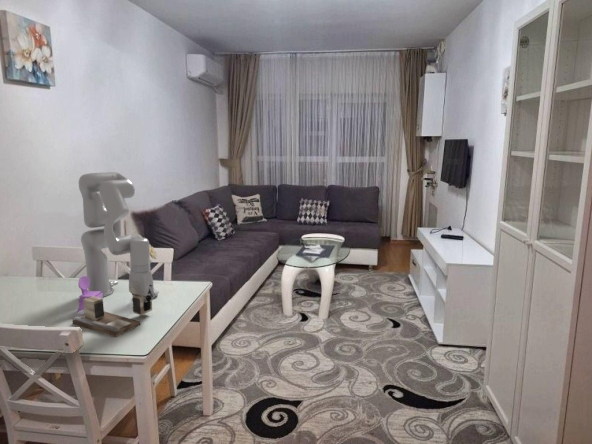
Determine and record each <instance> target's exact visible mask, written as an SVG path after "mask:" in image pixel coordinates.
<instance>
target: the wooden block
mask: <svg viewBox="0 0 592 444" xmlns="http://www.w3.org/2000/svg"><path fill="white" fill-rule="evenodd" d="M146 297H147V298H148V296H146ZM144 302H145V301H144V297H143V296H139V295H136V294H134V295H132V312H133V313H134V314H136V315H139V316H142V315H145V314H148V313H149V312H152V311H153V299H152V300H151V301H150V303H151V309H150V310H147V311H144Z"/></svg>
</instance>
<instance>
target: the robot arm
mask: <svg viewBox="0 0 592 444" xmlns="http://www.w3.org/2000/svg"><path fill="white" fill-rule="evenodd" d="M78 188H79V189H78V190H79V191H80V194H81V197H82V207H83V210H82V211H83V222H84V224H85V226H86V227H87V228H89V229H91V228H92V229H91V230H87V231H84V232H83V233H82V235H81V237H80V241H81V245H82V249H83V254H84V259H85V269H86V272H85V273H86V277H89V279H90V286H89V287H88V289H87V290H88V291H101V293H102V295H103V298H104V297H106V296H110V295H112V294H113V293H114V288H113V287H114V286H117V285H118V284H119V282H118V281H117V280H115V281H110V275H109V274H110V273H109V262H108V261H109V260H108V257H107V254H105V253H104V252H103V251H102V249H108V251H109V253H110V254H112V255H113V256H121V255H126V254H130V255H129V256H130V259H129V260H130V270H129V273H128V274H129V276H128V292H129V293H130V294H131V295H132V296H133V295H134V294H136V295H139V296H143V297H144V301H145V302H144V311H147V310H150V309H151V303H150V301H151V300H152V301H153V298H155V297H157V295H155V293H154V287H155V286H154V279H153V275H152V273H153V272H152V271H151V269H150V268H151V264H150V260H151V256H150V253H149V244H150V240H149V239H148V238H146V237H143V236H142V235H140V234H138V233H134V234H126V235H122V224H121V223H122V221H121V220H123V219H124V218H126V217H127V216H128V215H129V213H130V210H129V207H128V204H127V202H126V200H125V199H131V198H132V197H134V196H135V190H136V189H135V186H134V184H133V182H132V180H130V179H128V177H126V176H124V175H123V174H121V173H119V172H114V171H113V172H109V171H108V172H91V173H84V174H82V175H81V176H80V177H79V179H78ZM102 227H103V228H102ZM93 228H94V229H93ZM95 228H96V229H95ZM153 286H154V287H153ZM146 296H148V298H147V297H146Z"/></svg>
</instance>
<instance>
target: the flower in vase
mask: <svg viewBox="0 0 592 444" xmlns="http://www.w3.org/2000/svg"><path fill="white" fill-rule="evenodd" d="M149 253H150V258H152V259H154V260H156V259H157V257H158V254H157V251H156V250H155V248H154V246H152V245H151V244H150V243H149ZM151 264H152V260H151V259H150V265H151ZM150 270H151V267H150ZM153 287H154V293H155V295H156V296H158V295H159V293H160V290H159V289H158V288H157V287H155V286H154V285H153Z"/></svg>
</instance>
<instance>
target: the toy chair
mask: <svg viewBox="0 0 592 444" xmlns="http://www.w3.org/2000/svg"><path fill="white" fill-rule="evenodd" d="M89 286H90V279H89V277H87V275H86V276H80V277H79V279H78V289H80V290H81V294H80V295H79V296H78V297H79V298H78V309H77V311H76V312H77V313H79V312H81V311H82V310H84V301H83V299H86V298H89V297H92V296H95V297H99V298H102V299H103V300H104V297H103V295H102V293H101V291H88V287H89Z"/></svg>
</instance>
